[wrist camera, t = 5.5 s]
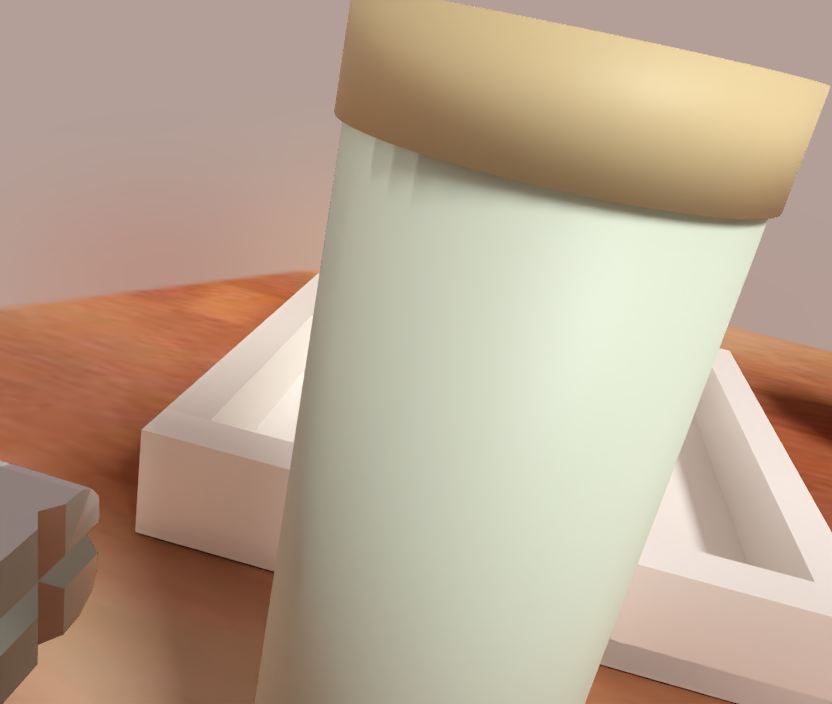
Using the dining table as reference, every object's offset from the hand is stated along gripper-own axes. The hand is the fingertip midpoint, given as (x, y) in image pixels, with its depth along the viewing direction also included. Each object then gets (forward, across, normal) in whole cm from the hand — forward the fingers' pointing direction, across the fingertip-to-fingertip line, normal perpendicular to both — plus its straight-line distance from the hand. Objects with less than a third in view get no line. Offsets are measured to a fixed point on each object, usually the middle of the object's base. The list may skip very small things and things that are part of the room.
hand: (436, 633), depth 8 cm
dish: (+17, -1, +7) cm, 18 cm away
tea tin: (+2, 0, +7) cm, 7 cm away
